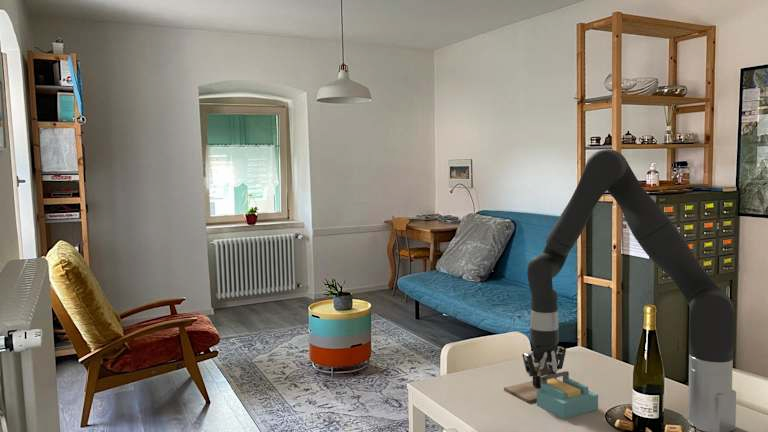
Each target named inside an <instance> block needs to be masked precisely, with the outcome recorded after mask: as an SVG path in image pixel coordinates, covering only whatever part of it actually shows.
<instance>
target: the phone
mask: <svg viewBox="0 0 768 432" xmlns="http://www.w3.org/2000/svg"><path fill="white" fill-rule="evenodd" d="M537 363H538V364H540V363H539V362H537ZM536 371H537V369H536ZM548 371H549V369H548V365H547V363H545V364H544V367H543V368H542V370H541V375H540V376H545V375H548ZM529 375H530V376H529ZM528 376H529V377H531V376H533V375H532V374H530V373H528Z"/></svg>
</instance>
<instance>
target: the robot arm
mask: <svg viewBox="0 0 768 432" xmlns="http://www.w3.org/2000/svg"><path fill="white" fill-rule="evenodd" d="M584 165H585V166H584V168H583V170H582V174H581V175H580V178H579V181H578V184H577V185H576V188H575V190H574V192H573V194H572V196H571V198H570V200H569V201H568V203H567V204H566V206H565V208H564V210H562V213H561V214H560V215H559V217H558V219H557V220H556V221H555V223H554V225H553V226H552V229H551V230H550V231H549V233H548V235H547V236H546V241H545V243H546V244H545V247H544V249H543V250H542V252H541V254H539V255H537V256H534V257H533V258H531V259H530V260H529V262H528V264H527V268H526V275H527V276H526V277H527V281H528V282H527V283H528V287H529V291H530V296H531V297H530V304H531V305H530V306H531V307H530V319H529V320H530V321H529V322H530V323H529V324H530V326H529V327H530V329H529V330H530V333H529V334H530V343H531V349H530V351H528V352H527V353H526V352H523V353H522V359H523V364H524V367H525V371H526V373H528V374H529V373H530V374H532V375H533V377H532V381H533V386H534V387H535V388H537V389H540V388H541V376H540V375H541V370H542V368H543V367H544V364H545V363H547V365H548V369H549V371H548V375H551V374H556V373H558V370H562V369H563V367H564V362H565V357H566V354H567V353H566V352H567V349H566V348H565V347H562V346H559V345H558V344H559V340H560V339H559V312H558V294H557V291H556V290H555V289H554V287H553V285H554V284H553V278H556V276H558V275H559V273H561V271H562V269H563V267H564V265H565V264H566V261H567V258H568V256H569V254H570V252H571V250H572V249H573V248H574V246H575V244H576V243H577V241H578V239H579V238H580V236H581V234H582V233H583V231H584V229H585V227H586V226H587V223H588V221H589V219H590V217H591V214H592V212H593V210H594V209H595V207H596V205H597V204H598V202H599V201H600V200H601V198H602V197H603V196H604V194H605V193H606V192H608V193H609V194H610V195H611V198H613V199H614V201H615V202H616V203H617V205H618V206H619V208H620V210H621V212H622V214H623V217H624V219H625V221H626V223H627V226H628V228H629V230H630V232H631V234H632V235H633V237H634V238H635V240H636V242H637V243H638V244H639V245H640V247H641V248H642V250H643V251H644V253H645V254H646V255H647V256H648V258H649V259H651V261H652V262H653V263H655V265H656V266H657V267H658V268H659V269H660V270H661V271H662V272H663V273H665V274H666V275H667V276H668V278H670V279H671V280H672V281H673V283H674V284H675V285H676V287H677V288H678V290H679V291H680V293H681V295H682V296H683V297H684V299H685V301H686V303H687V305H688V307H689V323H688V324H689V325H688V326H689V328H688V331H689V339H688V348H689V351H688V353H689V355H688V361H689V362H688V407H687V408H688V412H687V413H688V417H687V418H688V420H689V421H690V422H691V423H693V424H694V426H695V427H696V428H695V429H696V430H699V431H701V432H702V431H703V432H732V431H735V430H736V420H737V417H736V416H737V415H736V414H737V391H736V390H734V389H733V370H734V369H733V362H734V361H733V360H734V349H735V348H734V347H735V345H734V344H735V308H734V305H733V302H732V300H731V298H730V297H729V295H727V293H726V292H725V291H724V290H722V289H721V286H719V285H718V284H717V283H716V282H715V281H714V280H713V279H712V277H711V276H709V274H708V273H707V272H706V271H705V270H704V268H703V267H702V265H701V264H700V263H699V262H698V260H697V258H696V256H695V254H694V252H693V251H692V249H691V247H690V246H689V244H688V243H687V241H686V240H685V239H684V237H683V236H682V234H681V233H680V231H679V230H678V228H677V227H676V225H674V223H673V222H672V220H671V219H670V218H669V216H668V215H667V214H666V213H665V212H664V211H663V210H662V208H661V207H660V206H659V204H658V203H657V202H656V201H655V200H654V199H653V198H652V196H650V195H649V194H648V192H647V191H646V190H645V189H644V187H643V186H642V184H641V182H640V181H639V180H638V178H637V176H636V175H635V173H634V171H633V170H632V168H631V166H630V165H629V163H628V161H627V159H626V157H624V155H623V154H622V153H620V152H619V151H617V150H614V149H601V150H598V151H595V152H594V153H592V154H591V155H590V156H589V157H588V159H587V161H586V163H585V164H584ZM537 362H539V363H540V364H538V363H537ZM536 369H537V371H536ZM555 379H557V377H556V378H555Z"/></svg>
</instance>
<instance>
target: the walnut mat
mask: <svg viewBox="0 0 768 432" xmlns="http://www.w3.org/2000/svg"><path fill="white" fill-rule="evenodd" d="M538 390H541V388H540V389H537V388H535V387H534V386H533V380H532V381H528V382H524V383H523V382H522V383H518V384H515V385H510V386H505V387H503V391H504V392H507V393H508V394H511V395H512V396H514V397H516V398H517V399H519V400H522V401H523V402H525V403H528V404H532V403H535V402H536V403H537V391H538Z"/></svg>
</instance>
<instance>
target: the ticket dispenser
mask: <svg viewBox="0 0 768 432" xmlns="http://www.w3.org/2000/svg"><path fill="white" fill-rule="evenodd" d="M560 377H562V382H564V383H566V384H569V385H571V386H573V387H575V388H578V389H580V390H581V394H580V395H576V396H572V397H568V398H567V397H566V392H565V391H563V390H561V389H559V388H556V387H554V386H552V385H550V384H548V383H547V380H548V379H552V378H556V379H557V378H560ZM569 377H570V371H568V370H566V371H561V372H560V371H559V372H556V374H551V375H546V376H542V377H541V390H538V391H537V402H536V406H538V407H539V408H541V409H544V410H545V411H547V412H548V413H551V414H552V415H554V416H556V417H559V418H560V419H562V420H564V419H567V418H568V419H569V418H572V417H576V416H579V415H582V414H583V415H584V414H587V413H590V412H591V413H592V412H594V411H597V410H599V394H597V393H595V392H593V391H591V390H589V386H588V385H585V384H583V383H581V382H578V381H576V380H574V379H572V378H569Z"/></svg>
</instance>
